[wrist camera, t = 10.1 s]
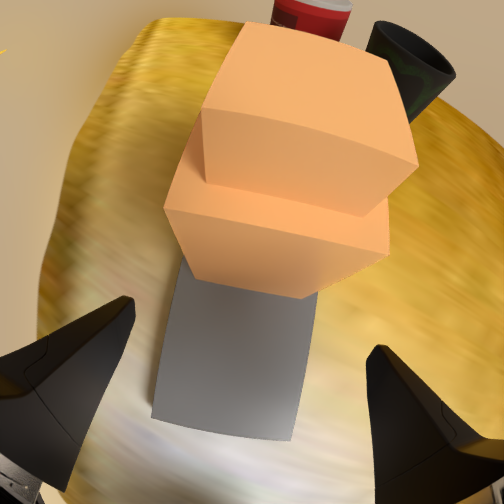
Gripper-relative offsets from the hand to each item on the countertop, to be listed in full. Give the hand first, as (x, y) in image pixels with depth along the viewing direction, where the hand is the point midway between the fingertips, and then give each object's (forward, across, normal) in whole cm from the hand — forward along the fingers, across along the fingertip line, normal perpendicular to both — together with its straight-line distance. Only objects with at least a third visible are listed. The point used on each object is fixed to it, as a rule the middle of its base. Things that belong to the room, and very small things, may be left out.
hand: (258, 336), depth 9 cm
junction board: (+7, 0, +5) cm, 9 cm away
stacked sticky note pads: (+10, 0, +1) cm, 10 cm away
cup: (+22, -9, -9) cm, 25 cm away
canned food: (+28, 0, -15) cm, 32 cm away
